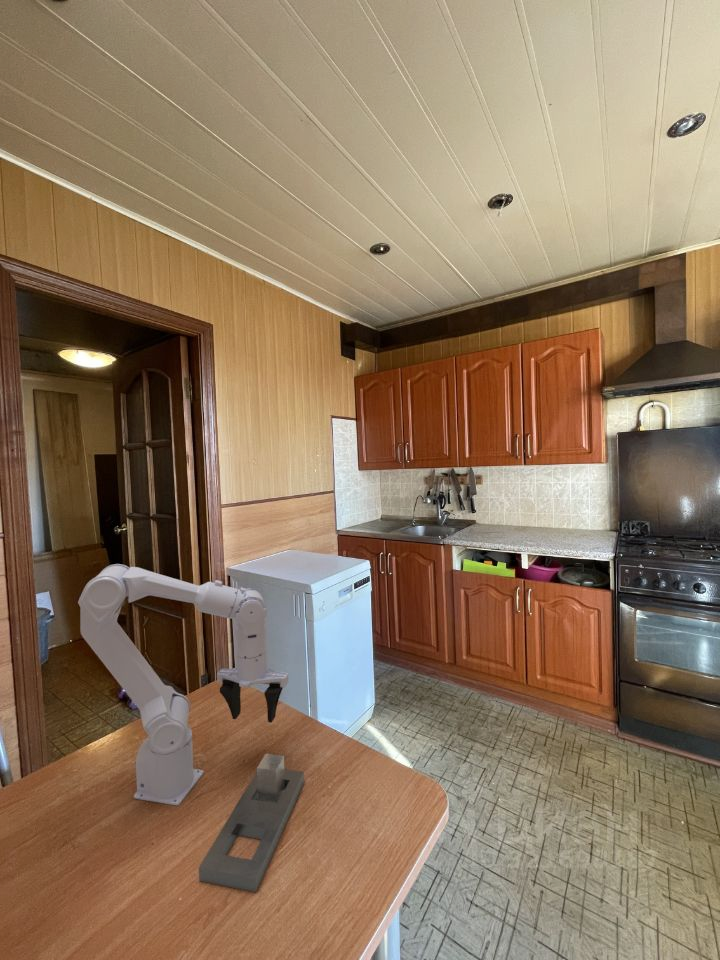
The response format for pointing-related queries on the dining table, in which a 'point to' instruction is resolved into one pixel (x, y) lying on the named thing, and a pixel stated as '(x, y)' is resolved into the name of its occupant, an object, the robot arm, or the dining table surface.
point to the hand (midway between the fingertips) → (254, 717)
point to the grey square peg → (271, 778)
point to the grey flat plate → (250, 836)
